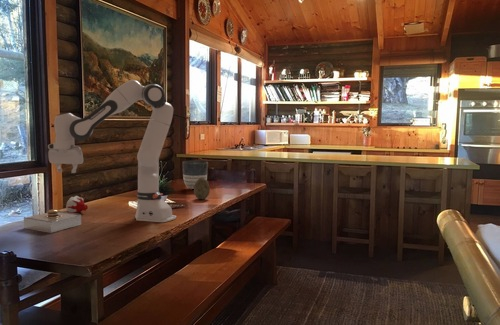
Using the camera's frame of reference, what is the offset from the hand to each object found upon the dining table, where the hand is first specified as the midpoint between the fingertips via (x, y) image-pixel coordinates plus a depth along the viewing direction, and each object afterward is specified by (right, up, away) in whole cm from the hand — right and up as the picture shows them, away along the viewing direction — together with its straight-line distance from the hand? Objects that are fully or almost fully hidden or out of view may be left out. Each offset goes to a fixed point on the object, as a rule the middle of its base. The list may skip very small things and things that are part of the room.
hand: (66, 172), depth 213 cm
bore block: (-3, -26, -7) cm, 28 cm away
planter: (+50, -16, +113) cm, 124 cm away
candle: (-5, -24, +24) cm, 34 cm away
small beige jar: (-3, -26, -7) cm, 27 cm away
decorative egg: (+60, -20, +71) cm, 95 cm away
